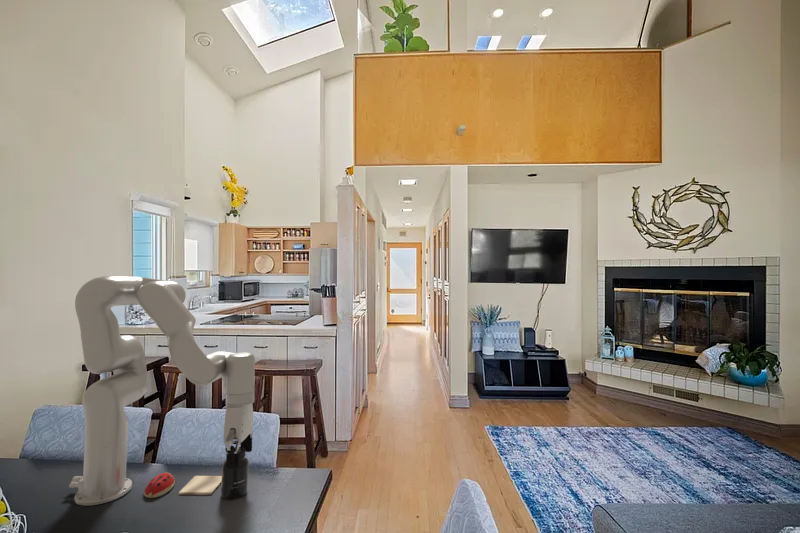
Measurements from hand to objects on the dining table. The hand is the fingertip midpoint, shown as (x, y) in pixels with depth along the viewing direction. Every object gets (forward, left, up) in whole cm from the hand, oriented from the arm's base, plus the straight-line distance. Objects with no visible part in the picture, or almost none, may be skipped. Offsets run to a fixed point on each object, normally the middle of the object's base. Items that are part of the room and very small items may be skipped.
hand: (239, 459), depth 107 cm
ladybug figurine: (-23, +2, -10) cm, 25 cm away
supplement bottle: (-1, 0, -10) cm, 10 cm away
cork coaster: (-12, +4, -10) cm, 16 cm away
